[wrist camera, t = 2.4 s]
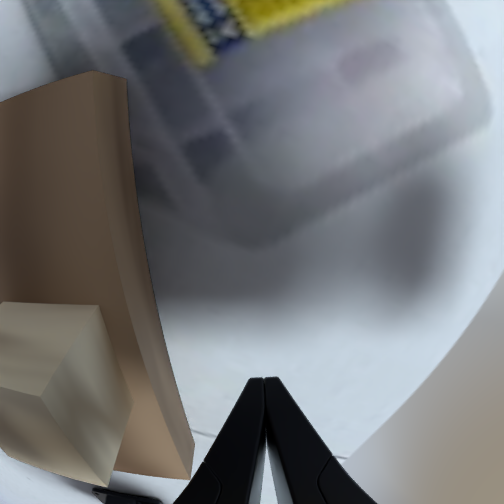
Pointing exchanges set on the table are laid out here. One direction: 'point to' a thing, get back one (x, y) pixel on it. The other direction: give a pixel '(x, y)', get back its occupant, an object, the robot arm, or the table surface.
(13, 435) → the maple block
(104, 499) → the robot arm
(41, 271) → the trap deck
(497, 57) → the table surface
